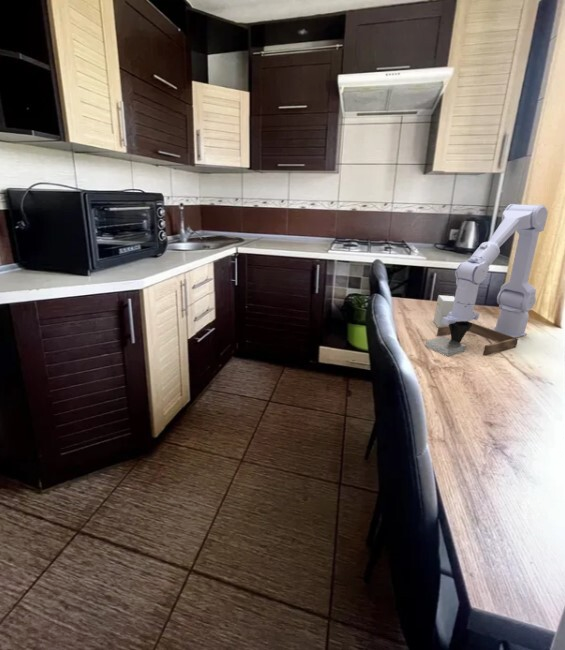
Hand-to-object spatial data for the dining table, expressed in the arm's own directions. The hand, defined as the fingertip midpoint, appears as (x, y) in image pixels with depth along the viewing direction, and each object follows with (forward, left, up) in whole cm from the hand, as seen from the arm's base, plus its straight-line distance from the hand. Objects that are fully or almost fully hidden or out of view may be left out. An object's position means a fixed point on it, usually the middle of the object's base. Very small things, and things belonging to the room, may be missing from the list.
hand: (455, 343), depth 109 cm
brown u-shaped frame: (-9, 0, -1) cm, 9 cm away
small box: (-13, -15, -1) cm, 20 cm away
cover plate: (+5, 0, -2) cm, 5 cm away
